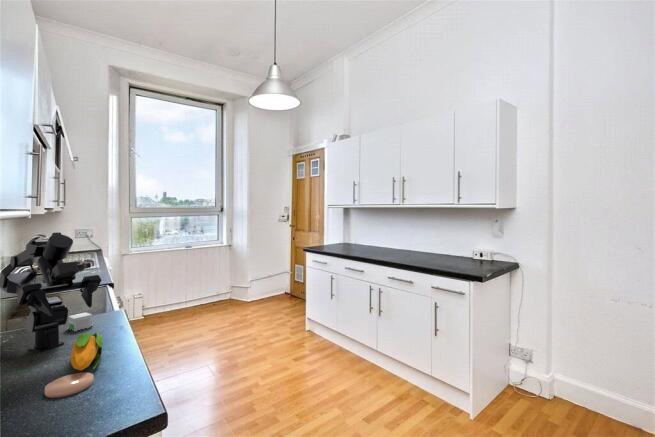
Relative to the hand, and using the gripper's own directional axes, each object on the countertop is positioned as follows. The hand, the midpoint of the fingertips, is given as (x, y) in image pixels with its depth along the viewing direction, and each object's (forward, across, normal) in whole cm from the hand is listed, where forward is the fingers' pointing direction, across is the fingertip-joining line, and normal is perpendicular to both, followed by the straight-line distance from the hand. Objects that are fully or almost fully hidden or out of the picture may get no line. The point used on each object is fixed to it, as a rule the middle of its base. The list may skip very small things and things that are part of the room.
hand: (72, 310), depth 89 cm
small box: (-10, +14, +29) cm, 34 cm away
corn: (+15, 0, +5) cm, 16 cm away
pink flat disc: (+22, -8, -2) cm, 24 cm away
